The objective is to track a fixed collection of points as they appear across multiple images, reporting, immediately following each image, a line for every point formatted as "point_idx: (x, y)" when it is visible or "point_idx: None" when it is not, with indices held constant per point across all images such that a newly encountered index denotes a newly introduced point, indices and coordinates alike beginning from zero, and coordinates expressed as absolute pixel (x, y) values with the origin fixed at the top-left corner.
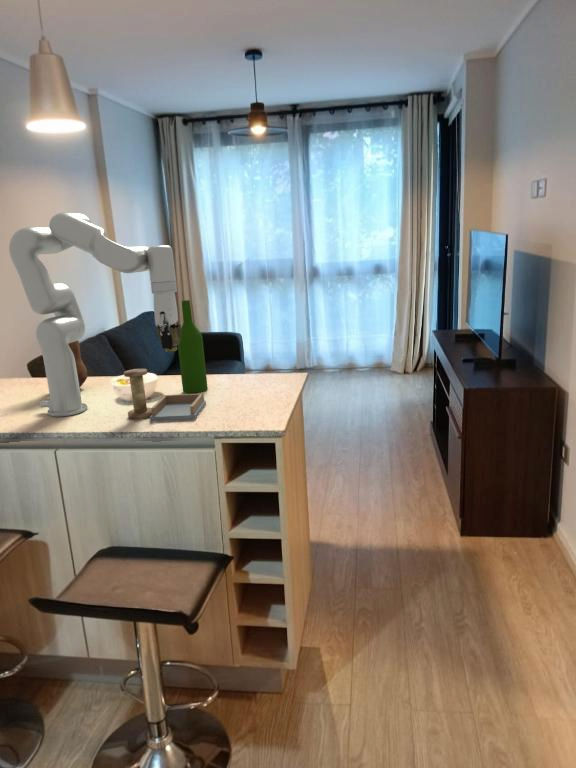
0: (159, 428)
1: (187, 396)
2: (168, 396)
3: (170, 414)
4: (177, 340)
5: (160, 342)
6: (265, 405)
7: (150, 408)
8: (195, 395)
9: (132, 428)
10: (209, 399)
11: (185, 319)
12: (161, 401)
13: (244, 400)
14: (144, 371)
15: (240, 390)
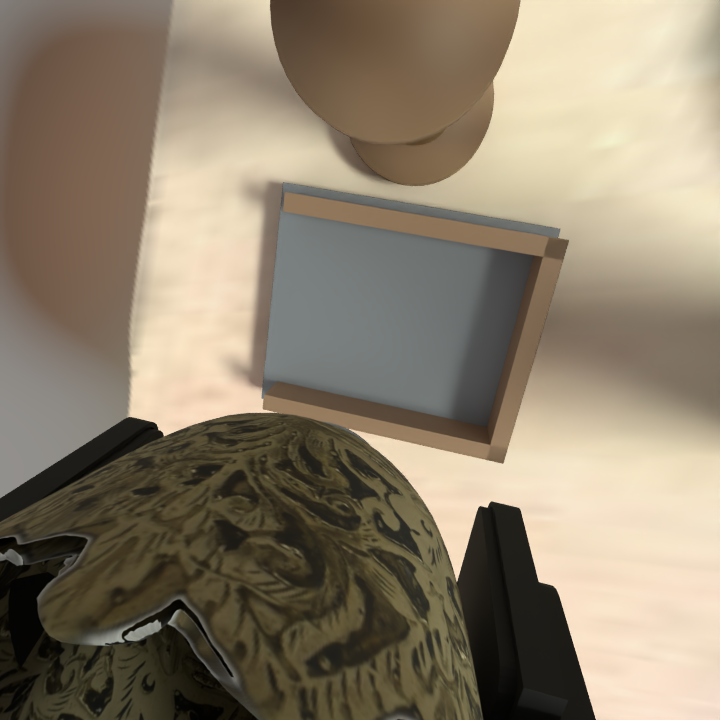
0: (184, 243)
1: (507, 377)
2: (539, 267)
3: (301, 287)
4: (182, 668)
5: (203, 422)
6: None
7: (456, 159)
8: (496, 420)
9: (208, 105)
10: (602, 460)
11: None
12: (423, 235)
13: None
14: (334, 124)
15: (712, 608)
